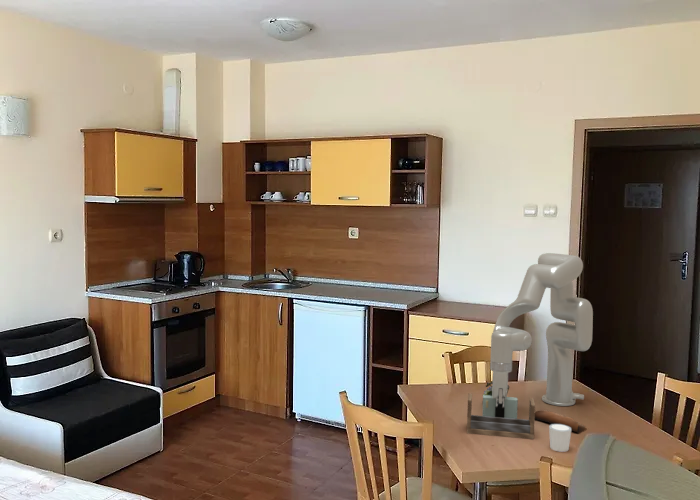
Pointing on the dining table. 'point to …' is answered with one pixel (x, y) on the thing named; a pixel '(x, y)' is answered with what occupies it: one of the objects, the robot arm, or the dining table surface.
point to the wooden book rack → (501, 424)
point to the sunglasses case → (559, 420)
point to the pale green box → (509, 406)
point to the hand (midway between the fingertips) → (499, 415)
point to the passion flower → (490, 389)
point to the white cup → (559, 437)
